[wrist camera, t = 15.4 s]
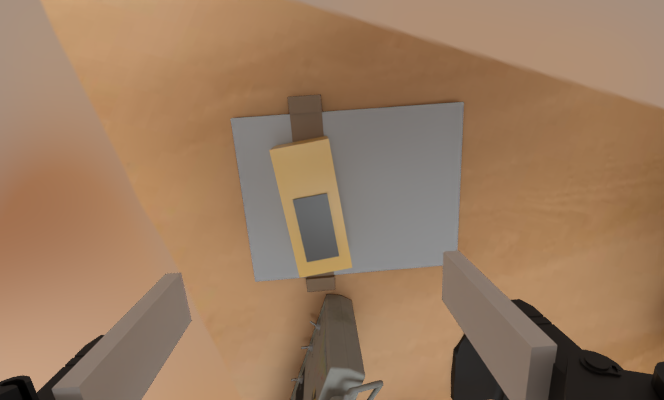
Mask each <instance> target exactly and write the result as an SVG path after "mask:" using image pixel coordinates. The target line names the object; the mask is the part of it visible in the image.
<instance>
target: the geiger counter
mask: <svg viewBox="0 0 664 400" xmlns="http://www.w3.org/2000/svg"><path fill="white" fill-rule="evenodd" d="M310 323H311V324H313V325H314V326H315V329H314V332H313V335H312V338H311V341H310V344H309V346H305V347H301V349H306V348H308V350H307V353H306V355H305V358H304V361H303V364H302V367H301V370H300V373H299V376H298V378H296V379H291V381H297V382H296V384H295V387H294V390H293V393H292V396H291V399H290V400H356V397H357V395H358V393H359V392H362V391H366V390H370V389H374V390H373V391H372V393H371V394H370V396H369V398H368V399H367V400H373V399H374V398H375V396H376V395H377V393H378V392H379V390H380V389H381V388H382V386H383V381H382V380H379V381H375V382H371V383H368V384H364V385H362V383H363V380H364V378H365V372H364V367H363V361H362V356H361V350H360V345H359V339H358V333H357V328H356V322H355V317H354V311H353V306H352V301H351V300H350V299H348V298H345V297H343V296H341V295H333V294H327V295H326V297H325V300H324V303H323V306H322V309H321V312H320V315H319V318H318V321H317V324H315V323H313V322H312V321H310Z"/></svg>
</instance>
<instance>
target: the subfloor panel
mask: <svg viewBox="0 0 664 400" xmlns="http://www.w3.org/2000/svg"><path fill="white" fill-rule="evenodd" d="M288 105H289V114H285V115H271V116H257V117H243V118H230V119H231V125H232V132H233V138H234V145H235V151H236V158H237V165H238V171H239V178H240V184H241V191H242V197H243V204H244V211H245V217H246V224H247V230H248V237H249V243H250V250H251V257H252V263H253V270H254V276H255V282H257V281H269V280H280V279H292V278H300V277H299V273H298V268H297V264H296V260H295V256H294V252H293V248H292V243H291V239H290V235H289V231H288V227H287V223H286V218H285V214H284V210H283V206H282V202H281V197H280V193H279V189H278V185H277V181H276V177H275V172H274V168H273V164H272V160H271V156H270V151H269V150H270V149H271V148H273V147H274V146H276V145H282V144H287V143H292V142H297V141H302V140H308V139H313V138H318V137H323V136H327V137H328V138H329V143H330V149H331V154H332V159H333V165H334V170H335V176H336V181H337V186H338V192H339V197H340V203H341V208H342V214H343V219H344V224H345V230H346V235H347V241H348V246H349V251H350V257H351V262H352V268H348V269H343V270H338V271H333V272H327V273H322V274H317V275H312V276H306V282H307V292H314V291H325V290H335V279H334V275H338V274H350V273H361V272H373V271H384V270H396V269H407V268H419V267H430V266H442V265H443V252H445V251H457V247H458V225H459V202H460V180H461V157H462V135H463V112H464V102H454V103H440V104H426V105H412V106H398V107H384V108H370V109H356V110H341V111H327V112H322V105H321V95H308V96H293V97H288ZM301 278H303V277H301Z"/></svg>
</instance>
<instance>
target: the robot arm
mask: <svg viewBox="0 0 664 400" xmlns="http://www.w3.org/2000/svg"><path fill="white" fill-rule="evenodd" d="M442 300H443V302H444V303H445V305H446V306H447V308H448V309H449V311H450V312H451V314H452V315H453V317H454V318H455V320H456V321H457V323H458V324H459V326H460V327H461V329H462V330H463V332H464V333H465V335H466V336H467V338H468V339H469V341H470V342H471V344H472V345H473V347H474V348H475V350H476V351H477V353H478V354H479V356H480V357H481V359H482V360H483V362H484V363H485V364H486V366H487V367H488V369H489V370H490V372H491V373H492V375H493V376H494V378H495V379H496V381H497V382H498V384H499V385H500V387H501V388H502V390H503V391H504V393H505V394H506V396H507V397H508V399H509V400H664V362H660V363H658V364H657V365H656V366H655V369H654V373H653V374H646V373H639V372H633V371H626V370H623V369H622V368H621V367H620V366H619V365H618V364H617V363H616V362H614V361H613V360H611V359H609V358H608V357H606V356H604V355H601V354H599V353H596V352H593V351H588V350H582V349H581V348H580V347H578V346H577V345H576V344H575V343H574V342H573V341H572V340H571V339H569V338H568V337H567V336H566V335H565V334H564V333H563V332H562V331H560V330H559V329H558V328H557V327H556V326H555V325H554V324H553V325H552V323H551V322H550V321H549V320H548V319H547V318H546V317H543V315H542V314H541V313H540V312H539V311H538V310H537V309H536V308H534V307H533V306H531V305H529V304H528V303H526V302H524V301H522V300H520V299H517V300H510V299H509V298H508V297H507V296H506V295H505V294H503V293H502V292H501V291H500V290H499V289H498V288H497V287H496V286H495V285H494V284H493V283H492V282H491V281H490V280H489V279H488V278H487V277H486V276H485V275H484V274H483V273H482V272H480V271H479V270H478V269H477V268H476V267H475V266H474V265H473V264H472V263H471V262H470V261H469V260H468V259H467V258H466V257H465V256H464V255H463V254H462V253H461V252H460V251H459V250H457V251H445V252H443V282H442ZM191 321H192V320H191V316H190V311H189V307H188V302H187V297H186V293H185V288H184V284H183V279H182V275H181V273H170V274H165V275H164V276H163V277H162V278H161V279H160V280H159V281H158V282H157V283H156V284H155V285H154V286H153V287H152V288H151V289H150V290H149V291H148V292H147V293H146V294H145V295H144V296H143V297H142V298H141V299H140V300H139V301H138V302H137V303H136V304H135V305H134V306H133V307H132V308H131V309H130V310H129V311H128V312H127V313H126V314H125V315H124V316H123V317H122V318H121V319H120V320H119V321H118V322H117V323H116V324H115V325H114V326H113V328H112V329H110V330H109V331H108V332H107V333H106V334H105V335H100V336H99V337H97V338H96V339H94V340H93V341H91V342H90V343H88V344H87V345H85V346H84V347H83V348H82V349H81V350H80V351H79V352H78V353H77V354H76V355H75V357H74V358H72V359H71V360H70V361H69V362H68V363H67V364H66V365H65V367H63V368H62V369H61V370H60V371H59V372H58V373H57V374H56V375H55V376H54V377H52V378H51V379H50V380H49V381H48V382H47V383H46V384H45V385H44V386H43V387H42V388H41V389H40V390H39V391H38V392H37V393H36V391H35V388H34V386H33V383H32V381H31V379H30V377H29V376H17V377H12V378H9V379H6V380H4V381H1V382H0V400H141V399H142V398H143V396H144V395H145V393H146V392H147V390H148V388H149V387H150V385H151V384H152V382H153V381H154V379H155V377H156V375H157V374H158V373H159V371H160V370H161V368H162V366H163V365H164V363H165V362H166V360H167V358H168V357H169V355H170V354H171V352H172V351H173V349H174V347H175V346H176V344H177V343H178V341H179V340H180V338H181V336H182V335H183V333H184V332H185V330H186V329H187V327H188V325H189V324H190V322H191Z"/></svg>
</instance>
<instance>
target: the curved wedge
mask: <svg viewBox="0 0 664 400" xmlns="http://www.w3.org/2000/svg"><path fill="white" fill-rule="evenodd" d="M451 398H452V400H489V399H492V400H509V399H508V397H507V396H506V394H505V393H504V391H503V390H502V388H501V387H500V385H499V384H498V382H497V381H496V379H495V378H494V376H493V375H492V373H491V372H490V370H489V369H488V367H487V366H486V364H485V363H484V362H483V360H482V359H481V357H480V356H479V354H478V353H477V351H476V350H475V348H474V347H473V345H472V344H471V342H470V341H469V339H468V338H467V336H466V335H465V334H464V336H463V337H462V339H461V340H460V342H459V343H458V345H457V346H456V347H455V348H454V353H453V362H452V371H451Z"/></svg>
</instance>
